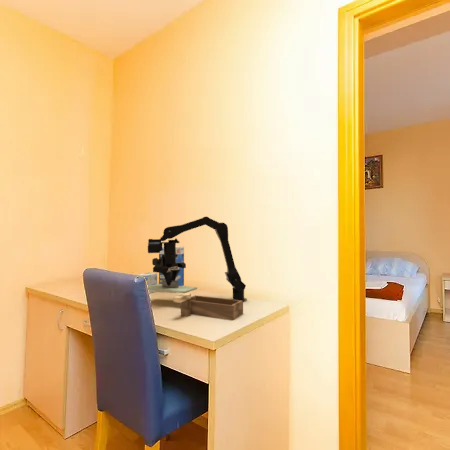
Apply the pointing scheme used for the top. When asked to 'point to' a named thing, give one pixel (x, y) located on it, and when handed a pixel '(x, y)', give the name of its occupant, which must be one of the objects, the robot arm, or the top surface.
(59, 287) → the top surface
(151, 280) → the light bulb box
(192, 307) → the toolbox
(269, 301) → the top surface
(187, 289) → the lid
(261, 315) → the top surface
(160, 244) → the robot arm
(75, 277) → the top surface
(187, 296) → the tan beveled box
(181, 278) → the string lights box
